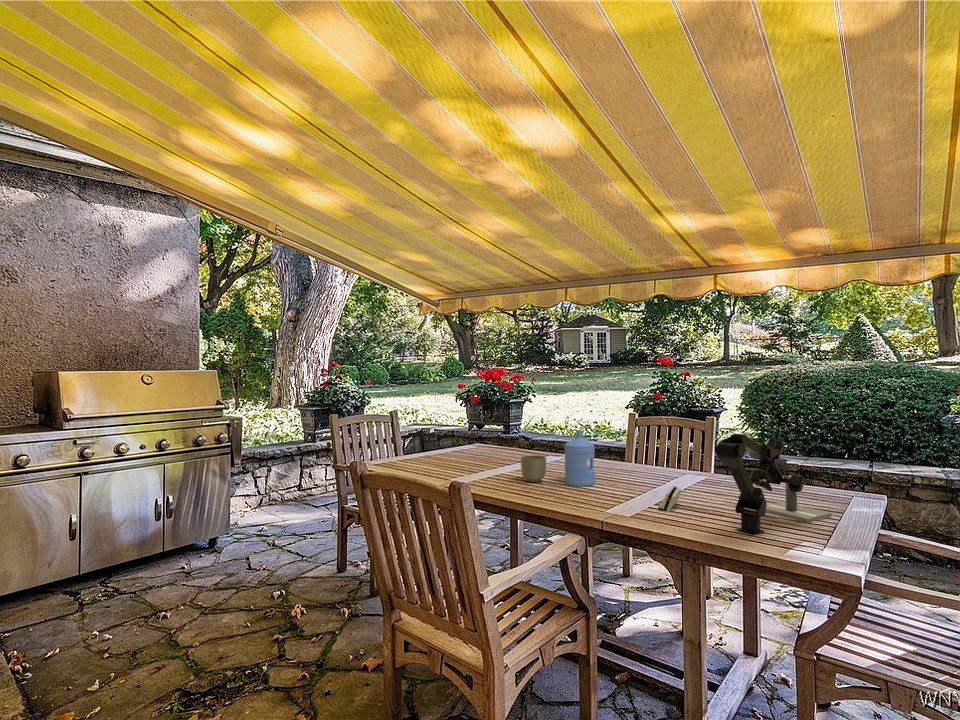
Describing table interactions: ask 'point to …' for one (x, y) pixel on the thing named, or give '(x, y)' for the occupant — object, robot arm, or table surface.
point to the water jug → (579, 461)
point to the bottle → (790, 499)
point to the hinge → (670, 498)
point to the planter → (533, 467)
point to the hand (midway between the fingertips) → (783, 492)
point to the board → (797, 512)
